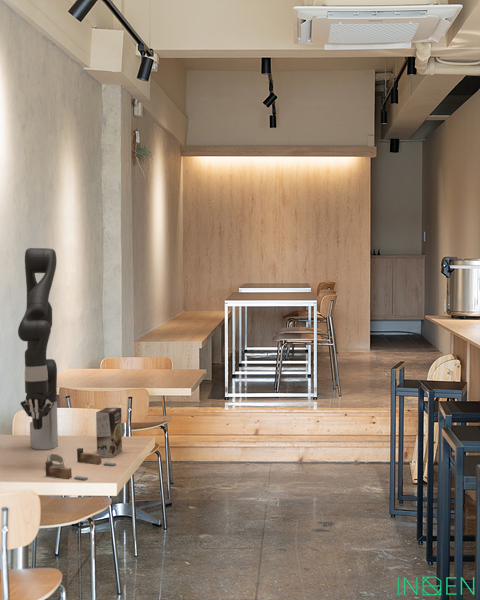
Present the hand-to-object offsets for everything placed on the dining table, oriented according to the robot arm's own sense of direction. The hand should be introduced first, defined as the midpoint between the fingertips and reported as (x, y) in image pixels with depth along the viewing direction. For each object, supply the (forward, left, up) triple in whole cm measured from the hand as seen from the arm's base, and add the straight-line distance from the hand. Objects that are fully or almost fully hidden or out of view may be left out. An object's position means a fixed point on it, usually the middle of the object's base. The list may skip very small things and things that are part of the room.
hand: (38, 429), depth 221 cm
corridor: (+15, 0, -13) cm, 19 cm away
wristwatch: (+7, 0, -13) cm, 15 cm away
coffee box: (+15, +20, -13) cm, 28 cm away
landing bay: (+23, 0, -13) cm, 26 cm away
